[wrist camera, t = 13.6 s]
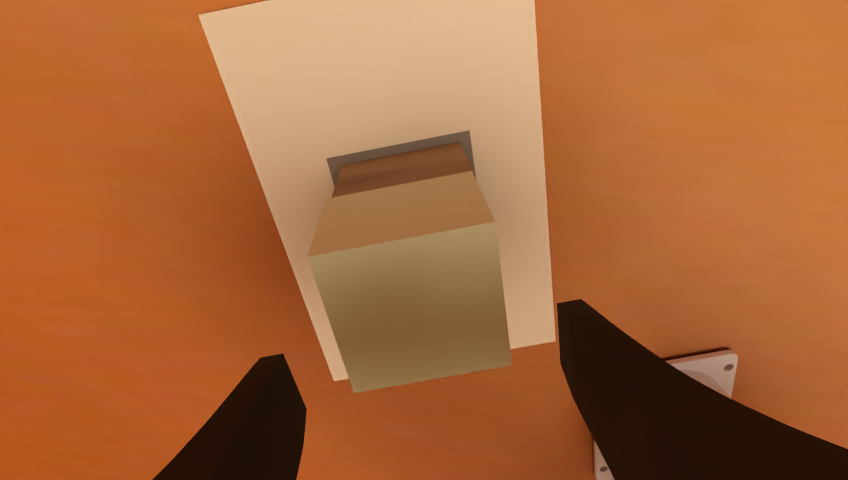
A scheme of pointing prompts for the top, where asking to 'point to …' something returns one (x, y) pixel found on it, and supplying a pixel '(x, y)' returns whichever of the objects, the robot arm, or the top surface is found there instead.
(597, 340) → the robot arm
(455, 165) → the walnut block
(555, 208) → the top surface
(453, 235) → the sage block
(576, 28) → the top surface
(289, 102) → the board
